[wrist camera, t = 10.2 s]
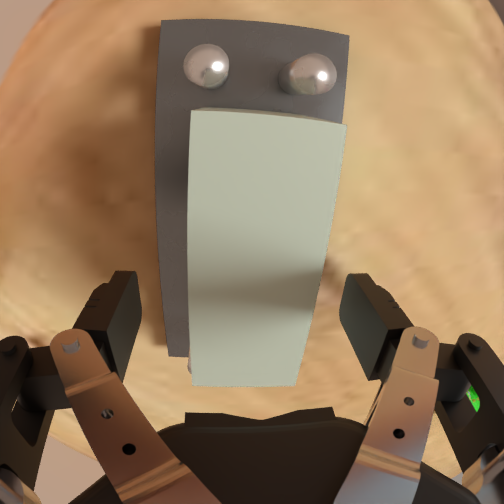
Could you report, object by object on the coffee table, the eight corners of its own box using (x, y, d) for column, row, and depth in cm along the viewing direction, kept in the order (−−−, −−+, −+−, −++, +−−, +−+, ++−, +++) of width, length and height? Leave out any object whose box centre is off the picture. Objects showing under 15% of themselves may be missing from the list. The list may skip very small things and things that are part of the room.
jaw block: (300, 114, 16) (347, 125, 10) (275, 304, 21) (295, 385, 15) (205, 107, 15) (190, 110, 9) (199, 303, 21) (192, 385, 14)
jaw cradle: (298, 346, 25) (312, 396, 20) (170, 345, 24) (162, 397, 19) (342, 38, 15) (381, 22, 10) (165, 25, 14) (143, -1, 9)
